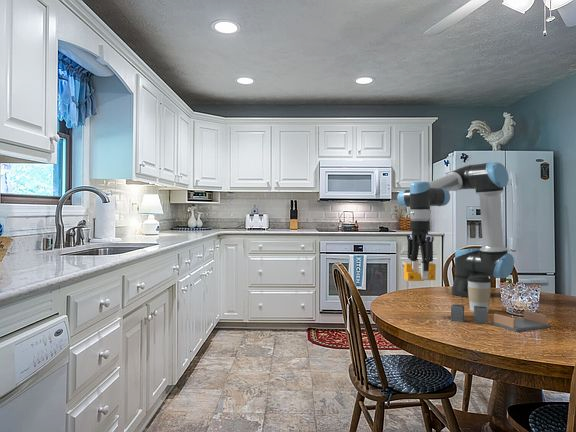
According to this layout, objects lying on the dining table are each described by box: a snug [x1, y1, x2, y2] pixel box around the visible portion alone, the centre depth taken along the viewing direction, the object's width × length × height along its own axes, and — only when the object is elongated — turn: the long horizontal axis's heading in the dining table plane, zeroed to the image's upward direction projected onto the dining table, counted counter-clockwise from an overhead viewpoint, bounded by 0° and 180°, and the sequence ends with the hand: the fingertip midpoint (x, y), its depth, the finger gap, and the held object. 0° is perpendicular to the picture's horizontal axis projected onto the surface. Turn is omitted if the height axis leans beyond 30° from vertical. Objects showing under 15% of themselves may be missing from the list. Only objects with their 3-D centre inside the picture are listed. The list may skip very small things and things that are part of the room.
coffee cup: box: [467, 274, 492, 313], centre depth 161 cm, size 9×9×15 cm
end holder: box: [491, 309, 550, 332], centre depth 139 cm, size 16×10×4 cm, turn 110°
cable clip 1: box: [450, 303, 465, 323], centre depth 146 cm, size 4×3×6 cm
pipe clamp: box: [403, 262, 437, 282], centre depth 155 cm, size 12×4×6 cm, turn 94°
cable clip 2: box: [473, 306, 488, 325], centre depth 143 cm, size 4×3×6 cm
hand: (419, 277), depth 156 cm, fingers closed on pipe clamp, 5 cm apart
